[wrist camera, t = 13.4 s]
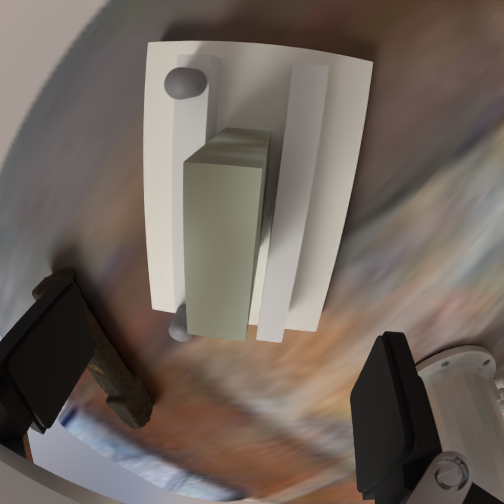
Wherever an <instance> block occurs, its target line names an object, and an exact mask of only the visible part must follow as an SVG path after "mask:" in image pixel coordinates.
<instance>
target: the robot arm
mask: <svg viewBox="0 0 504 504" xmlns="http://www.w3.org/2000/svg"><path fill="white" fill-rule="evenodd" d="M94 352H95V346H94V342H93V339H92V335H91V332H90V328H89V324H88V321H87V317H86V313H85V309H84V305H83V301H82V297H81V292H80V289H79V288H77V286H76V284H75V283H74V282H71V281H67V280H63V279H58V280H57V281H55V282H54V283H53V284H52V285H51V286H50V287H49V289H48V290H47V291H46V292H45V293H44V294H43V295H42V296H41V297H40V298H39V299H38V300H37V301H36V302H35V303H34V304H33V305H32V306H31V307H30V309H29V310H28V311H27V312H26V313H25V314H24V315H23V316H22V317H21V318H20V320H19V321H18V322H17V323H16V324H15V325H14V326H13V327H12V329H11V330H10V331H9V332H8V333H7V334H6V335H5V337H4V338H3V339H2V340H1V341H0V504H125V503H122V502H120V501H117V500H114V499H111V498H108V497H106V496H103V495H101V494H98V493H96V492H93V491H91V490H88V489H86V488H84V487H81V486H79V485H77V484H74V483H72V482H70V481H68V480H66V479H64V478H61V477H59V476H57V475H55V474H53V473H51V472H49V471H47V470H45V469H43V468H41V467H39V466H38V465H36V464H34V463H33V458H32V454H31V449H30V444H29V440H28V434H27V431H28V429H29V427H31V428H32V429H33V430H35V431H37V432H39V433H41V434H44V433H45V431H46V429H48V428H50V427H51V426H52V425H53V423H54V421H55V420H56V418H57V416H58V414H59V413H60V411H61V409H62V407H63V406H64V404H65V402H66V400H67V399H68V397H69V395H70V394H71V392H72V390H73V388H74V387H75V385H76V383H77V382H78V380H79V378H80V377H81V375H82V373H83V372H84V370H85V369H86V367H87V365H88V364H89V362H90V360H91V359H92V357H93V355H94ZM495 372H496V362H495V360H494V358H493V356H492V354H491V353H490V351H489V350H487V349H486V348H484V347H481V346H476V345H466V346H460V347H455V348H452V349H449V350H445V351H443V352H441V353H438V354H436V355H434V356H432V357H430V358H428V359H426V360H424V361H422V362H421V363H420V364H418V365H417V366H415V363H414V360H413V357H412V354H411V351H410V348H409V345H408V342H407V339H406V337H405V335H404V333H402V332H389V331H386V332H384V333H383V335H382V336H378V337H377V339H376V341H375V343H374V345H373V347H372V350H371V352H370V354H369V356H368V358H367V361H366V363H365V365H364V367H363V369H362V371H361V373H360V375H359V377H358V379H357V381H356V383H355V385H354V387H353V389H352V392H351V396H350V404H351V414H352V424H353V435H354V447H355V461H356V476H357V489H358V491H359V492H362V495H363V500H372V499H375V504H504V416H503V413H504V388H500V389H497V386H496V384H495V382H494V380H493V378H494V376H495Z"/></svg>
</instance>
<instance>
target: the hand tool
mask: <svg viewBox="0 0 504 504" xmlns="http://www.w3.org/2000/svg"><path fill="white" fill-rule="evenodd" d="M74 275H75V269H73V268H70V269H64V270H59V271H57V272H55V273H53V274H51V275H50V276H48V277H45V278H44V279H43V280H42V281H41V282H40V283H39V285H38V286H37V287H35V289H34V290H33V291H32V295H33V297H34V299H35V300H36V301H37V300H38V299H39V298H40V297H41V296H42V295H43V294H44V293H45V292H46V291H47V290H48V289H49V287H50V286H51V285H52V284H53V283H54V282H55V281H57V280H58V279H63V280H67V281H71V282H74ZM81 297H82V295H81ZM82 301H83V305H84V309H85V313H86V317H87V321H88V324H89V328H90V332H91V335H92V339H93V342H94V346H95V352H94V355H93V357H92V359H91V360H90V362H89V364H88V365H87V367H86V368H87V369H88V371H89V372H90V373H91V375H92V376H93V377H94V378H95V380H96V381H97V383H98V384H99V385H100V387H101V388H102V389H103V390H104V392H105V393H106V394H108V398H107V399H106V403H107V404H108V405H109V407H110V408H111V409H112V410H114V412H115V413H116V415H117V416H118V417H120V419H121V420H122V421H123V422H124V423H126V424H127V425H128V426H129V427H131V428H133V429H140V428H142V427H143V426H145V425H146V423H147V422H149V421H150V416H151V413H152V410H153V405H152V402H151V399H150V397H149V394H148V392H147V390H146V389H145V387H144V385H143V383H142V381H141V379H140V377H139V376H138V375H135V374H132V373H131V372H130V371H129V370H128V369H127V368H126V366H125V365H124V363H123V361H122V360H121V358H120V357H119V355H118V353H117V351H116V349H115V348H113V346H112V345H111V344H110V342H109V341H108V339H107V338H106V336H105V334H104V333H103V331H102V329H101V328H100V325H99V324H98V322H97V321H96V319H95V317H94V315H93V314H92V312H91V311H90V310H89V308H88V306H87V304H86V302H85V301H84V299H83V297H82Z"/></svg>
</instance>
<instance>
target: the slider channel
mask: <svg viewBox="0 0 504 504" xmlns="http://www.w3.org/2000/svg"><path fill="white" fill-rule="evenodd" d="M372 67H373V62H371V61H367V60H362V59H358V58H353V57H349V56H344V55H339V54H334V53H328V52H322V51H316V50H310V49H303V48H296V47H288V46H280V45H271V44H260V43H246V42H228V41H168V42H149V43H148V51H147V64H146V80H145V101H144V202H145V224H146V241H147V255H148V267H149V279H150V289H151V299H152V308H153V309H155V310H161V311H166V312H172V313H175V315H174V318H173V320H172V323H171V325H170V327H169V334H170V335H171V337H173V338H174V339H175V340H178V341H181V342H186V341H189V340H190V339H191V338H192V335H193V334H188V332H187V316H186V298H185V274H184V241H183V162H184V161H185V160H186V159H188V158H189V157H190V156H191V155H192V154H194V153H195V152H196V151H197V150H199V149H200V148H201V147H202V146H203V145H205V144H206V143H207V142H208V141H210V140H211V139H212V138H214V137H215V136H216V135H217V134H219V133H220V132H221V131H223V130H224V129H225V128H226V127H227V128H240V129H252V130H263V131H271V142H270V152H269V162H268V172H267V182H266V192H265V202H264V211H263V221H262V231H261V240H260V249H259V256H258V263H257V270H256V276H255V283H254V290H253V296H252V303H251V310H250V316H249V323H248V324H252V325H258V330H257V338H256V340H262V341H270V342H279V343H281V342H282V338H283V333H284V329H293V330H303V331H312V332H316V329H317V326H318V322H319V319H320V315H321V312H322V308H323V305H324V301H325V298H326V294H327V290H328V287H329V283H330V279H331V275H332V272H333V268H334V264H335V260H336V256H337V252H338V248H339V244H340V240H341V235H342V231H343V227H344V223H345V218H346V214H347V209H348V205H349V200H350V196H351V191H352V186H353V181H354V176H355V171H356V166H357V161H358V156H359V150H360V145H361V139H362V134H363V128H364V122H365V116H366V109H367V103H368V96H369V89H370V82H371V75H372Z"/></svg>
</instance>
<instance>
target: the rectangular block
mask: <svg viewBox="0 0 504 504" xmlns="http://www.w3.org/2000/svg"><path fill="white" fill-rule="evenodd" d="M270 142H271V131H263V130H252V129H240V128H227V127H226V128H225V129H224V130H223V131H221V132H220V133H219V134H217V135H216V136H215V137H214V138H212V139H211V140H210V141H208V142H207V143H206V144H205V145H203V146H202V147H201V148H200V149H199V150H197V151H196V152H195V153H194V154H192V155H191V156H190V157H189V158H188V159H186V160H185V161H184V162H183V241H184V274H185V298H186V316H187V332H188V334H193V335H200V336H206V337H213V338H220V339H227V340H235V341H243V342H246V336H247V330H248V323H249V316H250V310H251V303H252V296H253V290H254V283H255V276H256V270H257V263H258V256H259V249H260V240H261V231H262V221H263V211H264V202H265V192H266V182H267V172H268V162H269V152H270Z"/></svg>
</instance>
